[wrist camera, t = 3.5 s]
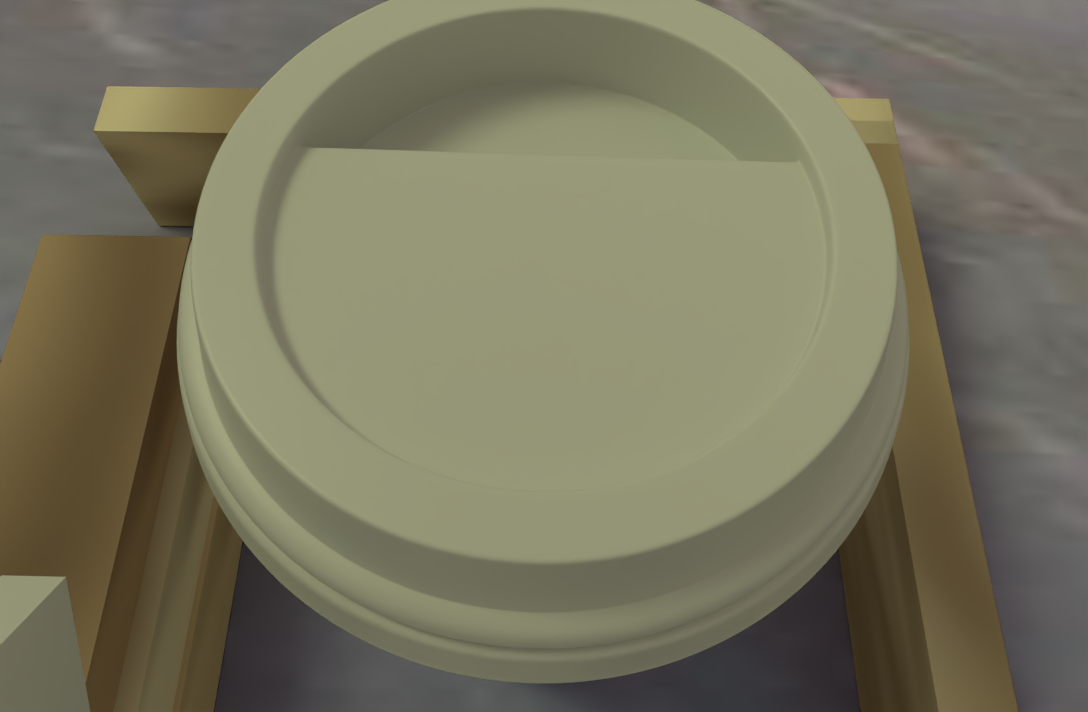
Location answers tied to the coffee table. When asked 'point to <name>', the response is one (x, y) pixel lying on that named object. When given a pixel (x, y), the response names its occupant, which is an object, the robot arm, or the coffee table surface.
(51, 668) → the robot arm
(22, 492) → the offcut stack
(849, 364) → the coffee cup
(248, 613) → the coffee table surface
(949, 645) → the frame
